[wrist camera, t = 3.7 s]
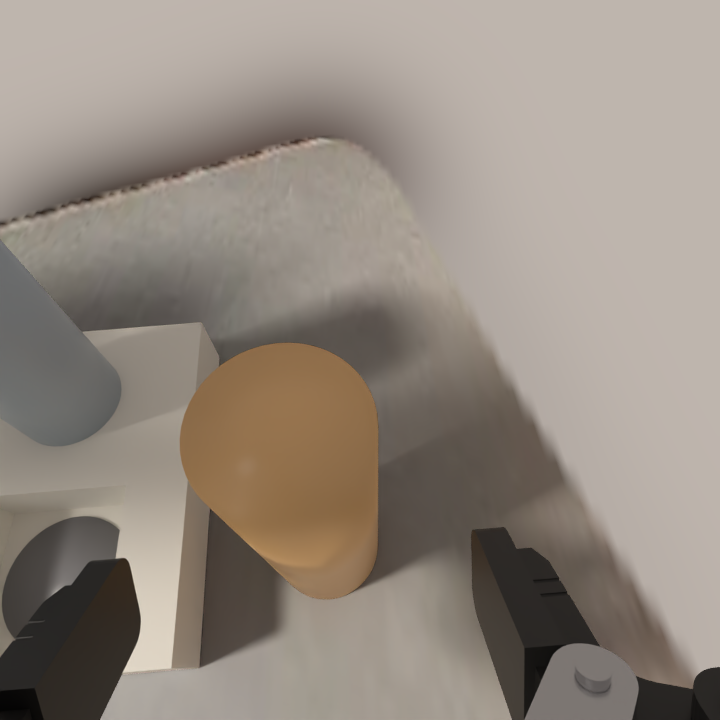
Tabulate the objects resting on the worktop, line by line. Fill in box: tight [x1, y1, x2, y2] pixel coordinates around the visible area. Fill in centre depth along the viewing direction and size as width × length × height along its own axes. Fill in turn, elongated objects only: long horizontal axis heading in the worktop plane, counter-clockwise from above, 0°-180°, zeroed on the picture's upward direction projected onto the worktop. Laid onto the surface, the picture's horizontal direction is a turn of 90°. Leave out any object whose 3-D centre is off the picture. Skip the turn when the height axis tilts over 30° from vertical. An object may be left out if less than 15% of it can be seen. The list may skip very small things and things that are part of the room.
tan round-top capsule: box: [180, 343, 378, 599], centre depth 16 cm, size 4×4×12 cm
